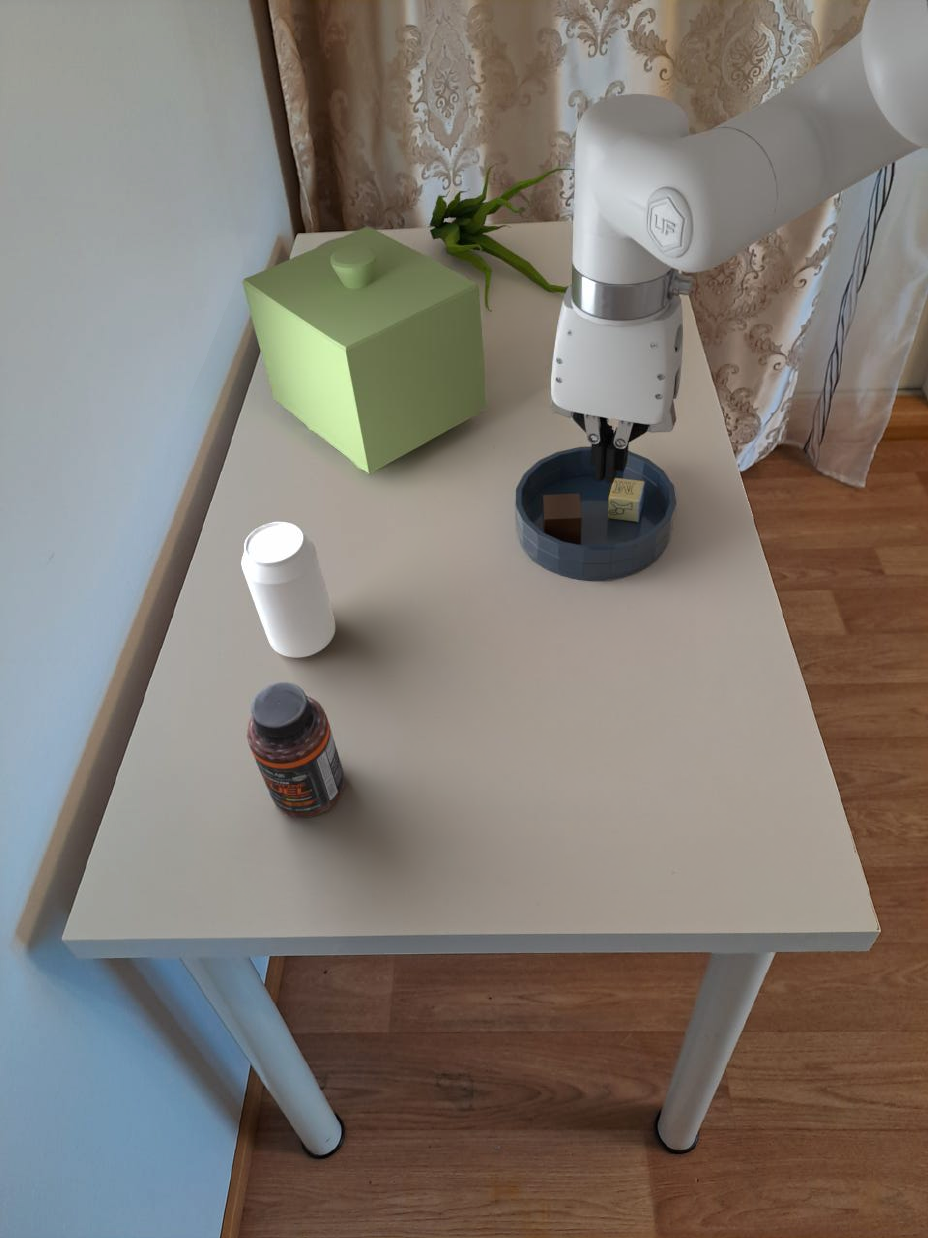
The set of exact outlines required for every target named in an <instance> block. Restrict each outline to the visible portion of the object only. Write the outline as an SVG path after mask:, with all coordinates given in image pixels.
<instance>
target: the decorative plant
mask: <svg viewBox="0 0 928 1238" xmlns="http://www.w3.org/2000/svg"><path fill="white" fill-rule="evenodd" d="M498 165H499V163H495V164H493V165H491V166H490V167H489V168H488V170H487V172H486V176H485V180H484V185H483V188H482V193H481V194H480V195H478V196H476V197H472V198H470V197H469V198H464V199H462V200H461V195H462V194H463V193H467V192H468V191H469V189H467V190H466V191H465V190H459V192H457V193H456V195H455V196H454V199H452V200H451V201H450V202H449V203H447V202H446V200H445V199H444V198H447V197H448V195H449V193H450V191H448V192H447V193H446V195H441V194H440V195H439V194H438V195H437V198H436V201H435V206H434V209H433V211H432V217H431V219H430V222H429V226H430V227H433V228H431V229H430V230H429V233H430V234H431V237H432V240H438V239H441V241H442V242H443V243H444V244H445V247H446V254H447V255H449V256H451V257H453V258H456V259H457V260H461V261H464V262H465V263H468V264H470V265H472V266H473V267H474V268H476V270H478V271H480V272H481V273H482V274H484V275H485V287H484V288H485V289H484V304H485V307H486V308H487V310H488V311H489V312H491V313H492V312H493V310H491V309H490V307H489V299H488V298H489V293H490V286H491V278H492V272H493V270H492V269H491V267H490V266H489V265H488V264H487V263H486V261H485V260H484V258H483V257H481V256H479V255H478V254H476V253H474V252H473V251H478V252H484V253H486V254H488V255H491V256H493V257H495V258H497V259H500V260H501V261H503V262H504V263H506V264H507V265H508V266H509V267H511V268H512V269H514V270H516V271H517V272H519V273H520V274H522V275H523V276H525V277H526V278H527V279H529V280H530V281H532V282H533V283H535V284H537V285H538V286H539V287H541V288H543V290H546V291H547V292H549V293H558V294H565V293H566V290H567V288H568V287H569V286H570V285H567V286H564V285H557V284H551V283H549V281H548V280H547V279H545V278H544V276H542V274H541V273H540V272H539V271H538V270H537V269H536V268H535V266H533V265H532V263H530V262H529V261H527V260H526V259H524V258H523V257H521V256H520V255H518V254H517V253H516V252H515V253H514V252H513V251H512V250H510V249H508V247H506V246H504V245H502V244H501V243H499V242H498V241H497V240H495V239H494V238H492V237H491V236H489V235H487V233H491V232H495V231H498V230H500V229H503V228H504V227H508V228H510V229H512V227H511V226H509V225H507V224H503V225H499V226H496V225H485V224H486V221H487V218H488V216H490V215H493V214H496V213H497V212H498V211H499V210H500V209H501V208H502V206H504V207H506V208H507V209H509V210H510V211H511V212H512V213H514V214H522V213H524V211H526V210H527V209H528V208H529V206H530V205H531V203H532V202H533V200H534V198H531V200H530V202H529V203H528V204H527V206H526V207H525V208H523V209H521V210H519V209H515V207H514V206H513V205H512V204H511V203H510V202H509V200H511V198H514V196H515V195H517V194H518V193H519V192H520V191H522V190H524V189H527V188H530V187H532V186H534V185H536V184H539V183H540V182H541V181H543V180H544V179H546V178H547V177H549V176H550V175H552V174H554V173H556V172H558V171H559V172H561V171H569V170H570V171H574V172H575V168H574V169H573V168H561V167H560V168H555V169H552V170H550V171H547V172H545V173H543V174H542V175H539V176H537V177H534V178H530V179H525V180H521V181H519V182H517V183H516V184H514V185H513V186H511V187H510V188H507V189H506V190H505V191H504V192H503V193H502V194H501V195H500V196H497V197H495V198H494V199H491V200H489V201H486V200H487V193H488V185H489V178H490V177H489V176H490V172H491V169H493V168H494V167H495V166H498ZM449 218H450V219H454V220H453V221H451V222H449V221H445V220H446V219H449ZM471 250H473V251H471Z"/></svg>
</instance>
